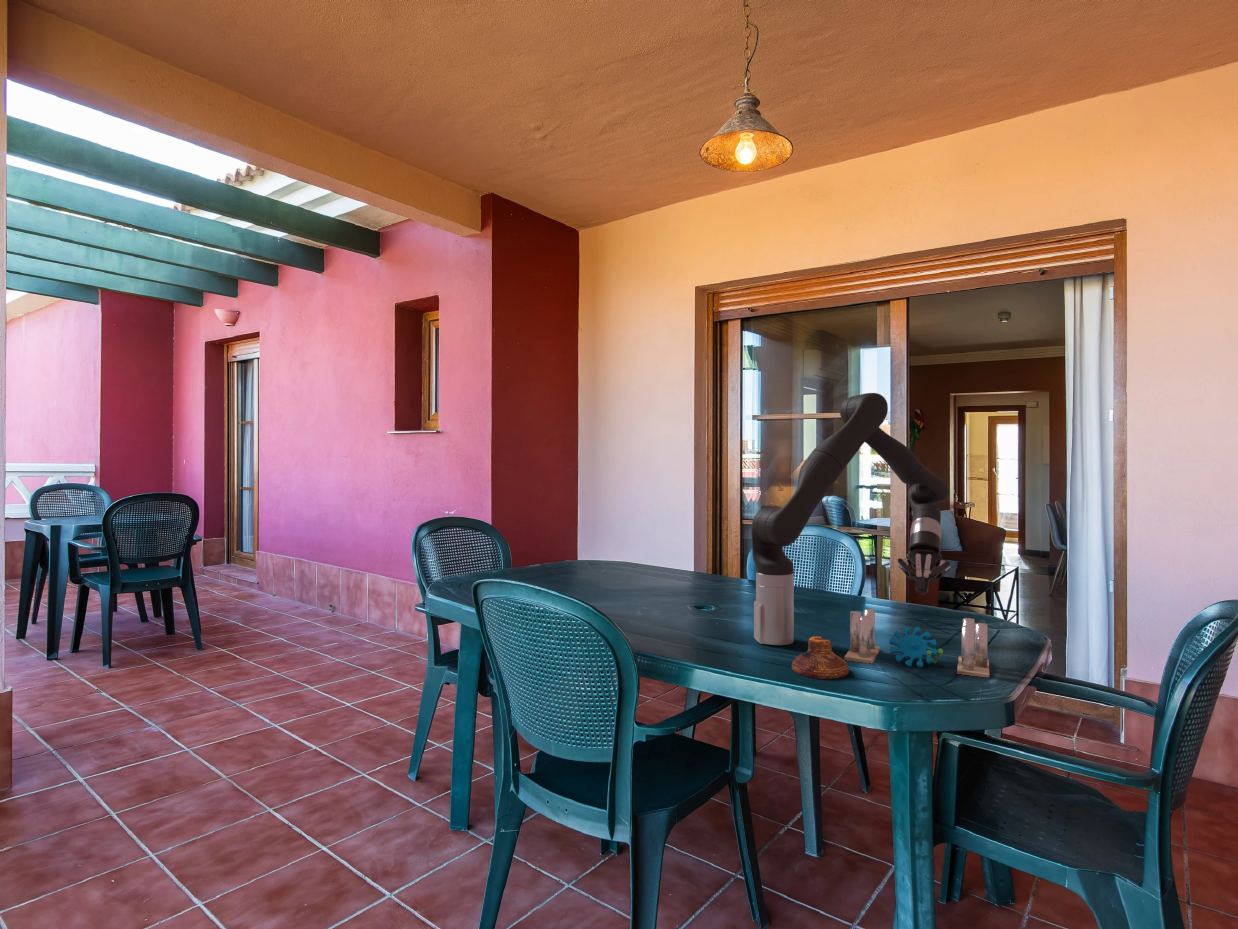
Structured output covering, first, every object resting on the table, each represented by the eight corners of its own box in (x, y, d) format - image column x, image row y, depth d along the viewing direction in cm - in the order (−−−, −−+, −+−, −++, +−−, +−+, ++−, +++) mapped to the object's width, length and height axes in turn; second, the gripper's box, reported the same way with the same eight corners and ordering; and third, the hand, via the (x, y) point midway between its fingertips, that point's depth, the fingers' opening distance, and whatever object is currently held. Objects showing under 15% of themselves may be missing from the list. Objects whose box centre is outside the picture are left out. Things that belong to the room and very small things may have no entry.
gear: (884, 657, 154) (895, 619, 160) (885, 670, 158) (896, 633, 164) (937, 671, 148) (947, 632, 154) (937, 685, 152) (946, 646, 158)
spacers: (854, 645, 168) (854, 607, 168) (987, 660, 154) (987, 619, 154) (846, 655, 158) (846, 616, 158) (987, 672, 145) (987, 629, 145)
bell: (788, 663, 156) (788, 631, 156) (843, 665, 155) (843, 632, 155) (795, 679, 144) (795, 644, 144) (854, 681, 143) (854, 646, 143)
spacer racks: (853, 646, 169) (853, 643, 169) (988, 662, 156) (988, 659, 155) (844, 660, 157) (844, 657, 157) (989, 678, 144) (989, 674, 144)
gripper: (897, 528, 185) (892, 581, 174) (952, 530, 179) (950, 585, 168) (899, 546, 190) (894, 599, 179) (953, 549, 184) (951, 603, 173)
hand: (921, 592), depth 173 cm, fingers closed
